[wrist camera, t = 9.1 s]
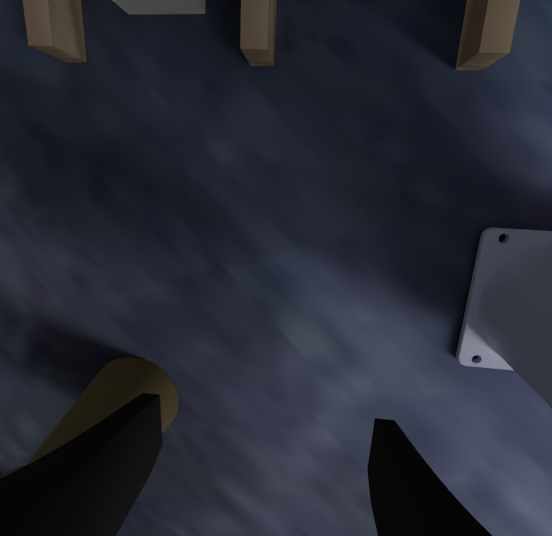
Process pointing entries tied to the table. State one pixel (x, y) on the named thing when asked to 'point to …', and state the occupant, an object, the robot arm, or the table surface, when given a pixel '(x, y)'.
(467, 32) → the socket board
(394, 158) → the table surface
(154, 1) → the plug
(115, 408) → the cork
